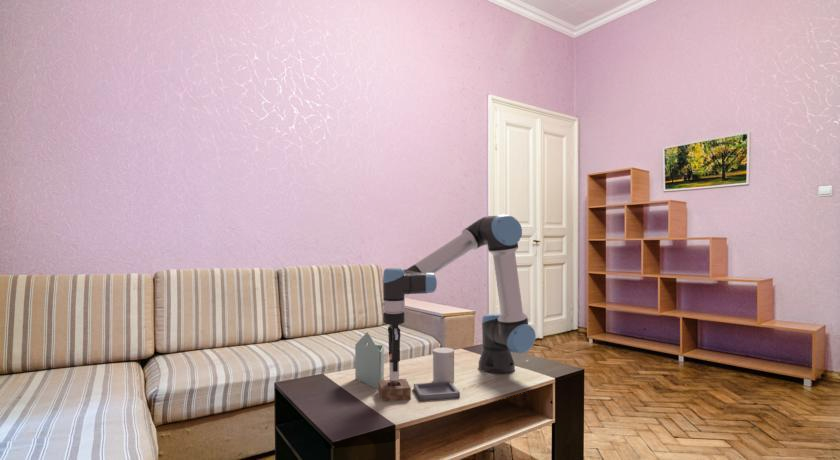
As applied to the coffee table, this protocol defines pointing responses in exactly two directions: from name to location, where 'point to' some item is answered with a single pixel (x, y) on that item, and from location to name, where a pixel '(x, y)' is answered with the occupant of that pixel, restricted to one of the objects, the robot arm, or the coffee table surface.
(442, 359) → the white cylinder
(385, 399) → the block
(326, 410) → the coffee table surface
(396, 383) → the pin
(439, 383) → the tray
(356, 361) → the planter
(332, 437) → the coffee table surface
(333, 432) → the coffee table surface
